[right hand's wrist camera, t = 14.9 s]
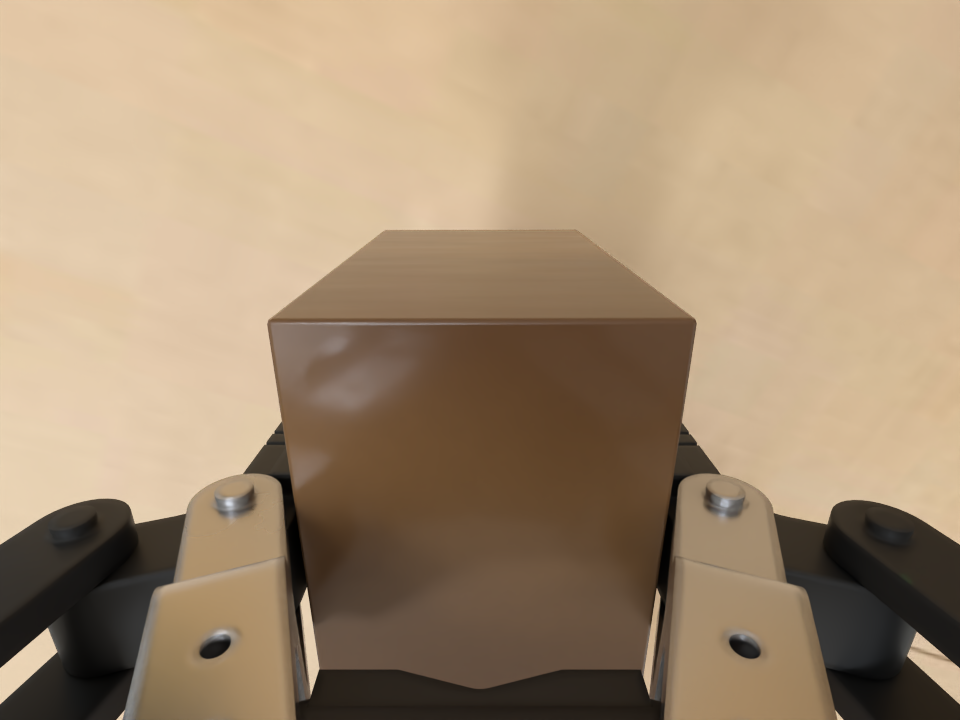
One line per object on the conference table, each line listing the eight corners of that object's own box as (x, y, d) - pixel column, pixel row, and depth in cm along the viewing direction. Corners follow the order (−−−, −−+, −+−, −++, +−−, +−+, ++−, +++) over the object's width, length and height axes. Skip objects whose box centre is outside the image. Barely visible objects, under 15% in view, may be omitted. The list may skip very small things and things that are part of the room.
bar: (383, 229, 14) (264, 319, 6) (577, 229, 14) (699, 319, 6) (419, 778, 22) (386, 1116, 14) (543, 778, 22) (577, 1116, 14)
